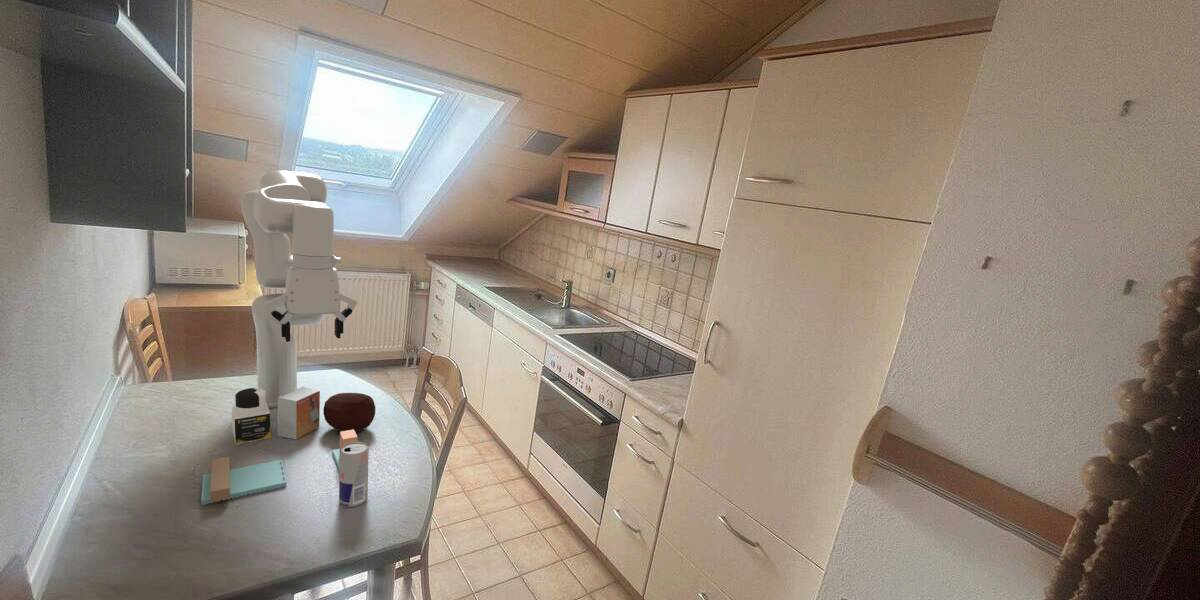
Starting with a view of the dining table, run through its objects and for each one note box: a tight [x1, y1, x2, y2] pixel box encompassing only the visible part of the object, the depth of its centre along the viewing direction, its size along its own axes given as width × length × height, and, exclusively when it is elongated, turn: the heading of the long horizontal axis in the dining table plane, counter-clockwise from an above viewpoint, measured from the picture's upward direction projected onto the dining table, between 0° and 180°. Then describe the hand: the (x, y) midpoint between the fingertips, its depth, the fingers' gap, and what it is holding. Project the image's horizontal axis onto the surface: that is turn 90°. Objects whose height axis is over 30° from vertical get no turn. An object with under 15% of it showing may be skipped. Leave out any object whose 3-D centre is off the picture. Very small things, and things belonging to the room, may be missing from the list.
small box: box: [277, 386, 321, 440], centre depth 124 cm, size 8×6×10 cm
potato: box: [322, 392, 376, 433], centre depth 128 cm, size 11×13×10 cm
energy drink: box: [338, 441, 370, 508], centre depth 100 cm, size 5×5×12 cm
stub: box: [332, 429, 358, 470], centre depth 114 cm, size 10×5×7 cm, turn 37°
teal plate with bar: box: [200, 456, 287, 506], centre depth 102 cm, size 13×14×3 cm
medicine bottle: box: [231, 387, 272, 445], centre depth 119 cm, size 7×7×12 cm
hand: (313, 338), depth 107 cm, fingers open, 9 cm apart
